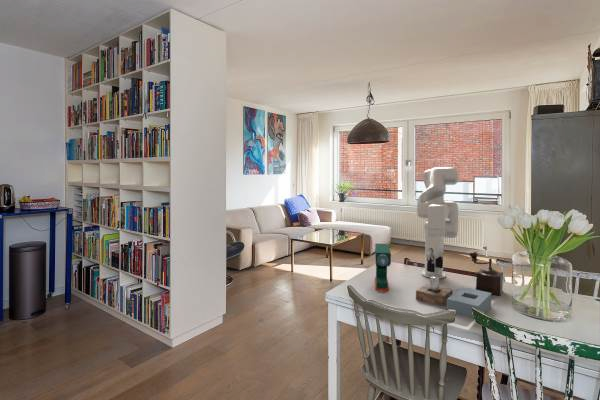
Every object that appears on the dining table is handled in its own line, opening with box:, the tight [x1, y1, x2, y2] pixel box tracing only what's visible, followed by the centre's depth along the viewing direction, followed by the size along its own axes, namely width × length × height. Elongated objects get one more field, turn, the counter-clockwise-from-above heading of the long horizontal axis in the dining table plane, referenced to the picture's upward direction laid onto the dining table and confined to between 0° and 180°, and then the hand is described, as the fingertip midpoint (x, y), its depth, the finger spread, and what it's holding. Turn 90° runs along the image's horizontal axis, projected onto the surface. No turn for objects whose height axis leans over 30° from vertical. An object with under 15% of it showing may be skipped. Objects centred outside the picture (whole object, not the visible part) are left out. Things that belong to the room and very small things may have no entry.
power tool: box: [374, 242, 392, 292], centre depth 173 cm, size 32×7×20 cm, turn 168°
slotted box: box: [446, 286, 492, 318], centre depth 147 cm, size 20×12×6 cm, turn 138°
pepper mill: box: [469, 251, 504, 297], centre depth 170 cm, size 16×11×18 cm
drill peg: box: [429, 276, 440, 293], centre depth 157 cm, size 4×4×10 cm
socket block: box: [415, 283, 454, 307], centre depth 157 cm, size 12×12×5 cm
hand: (434, 269), depth 156 cm, fingers open, 9 cm apart
